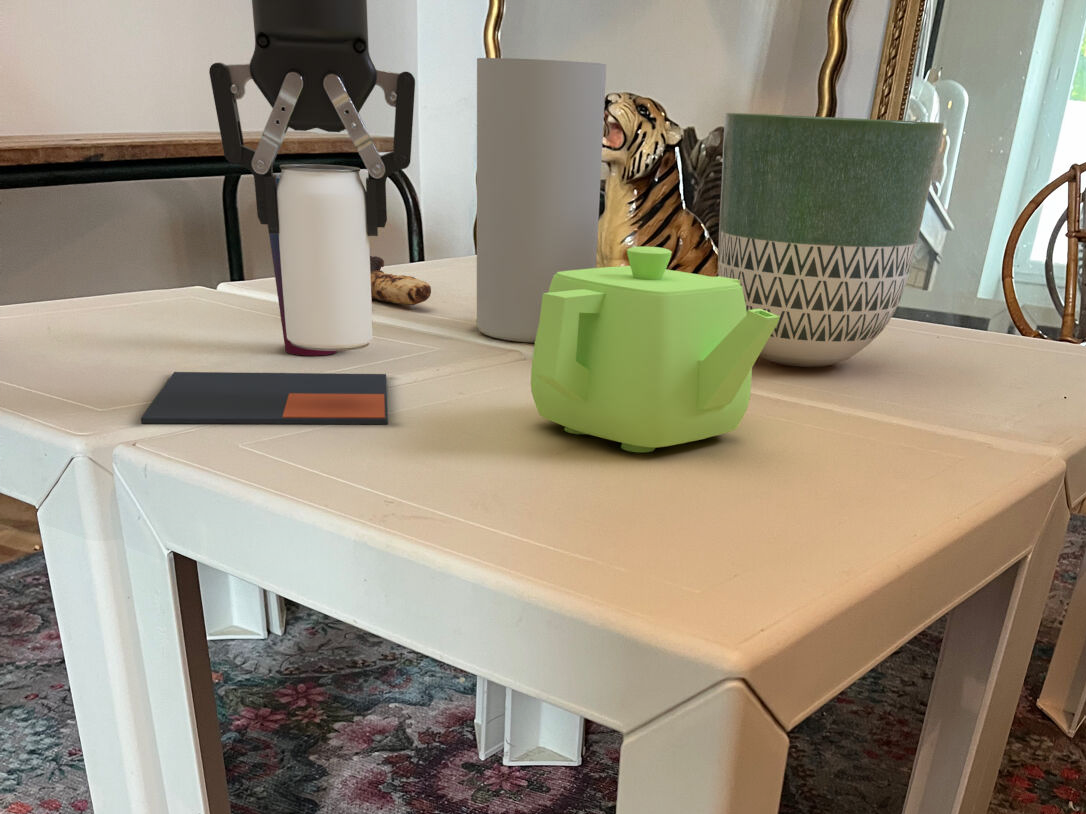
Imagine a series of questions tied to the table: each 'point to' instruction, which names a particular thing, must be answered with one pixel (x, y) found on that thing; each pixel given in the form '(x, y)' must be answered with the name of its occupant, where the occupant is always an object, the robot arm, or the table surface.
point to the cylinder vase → (534, 184)
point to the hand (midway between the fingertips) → (323, 233)
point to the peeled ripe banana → (396, 286)
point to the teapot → (646, 352)
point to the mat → (270, 399)
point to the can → (324, 257)
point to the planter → (822, 225)
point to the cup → (278, 277)
